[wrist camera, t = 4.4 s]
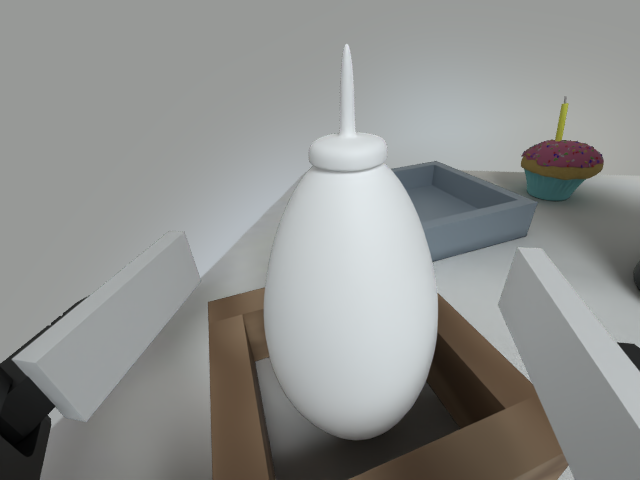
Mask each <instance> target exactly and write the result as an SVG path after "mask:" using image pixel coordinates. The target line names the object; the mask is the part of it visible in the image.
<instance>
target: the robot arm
mask: <svg viewBox="0 0 640 480" xmlns="http://www.w3.org/2000/svg"><path fill="white" fill-rule="evenodd" d="M634 279H635V282H636V285H637V286H638V288H639V290H640V261H639V263H638V264H637V266H636V268H635V270H634ZM200 282H201V279H200V276H199V273H198V270H197V267H196V264H195V261H194V259H193V256H192V253H191V250H190V247H189V244H188V241H187V238H186V235H185V232H179V231H178V232H177V231H168V232H167V233H166V234H165V235H163V236H162V237H161V238H160V239H158V241H156V242H155V243H154V244H152V245H151V246H150V247H149V248H148V249H146V250H145V251H144V252H143V253H141V254H140V255H139V256H138V257H136V258H135V259H134V260H133V261H131V262H130V263H129V264H128V265H127V266H125V267H124V268H123V269H122V270H120V271H119V272H118V273H117V274H116V275H114V276H113V277H112V278H111V279H110V280H108V281H107V282H106V283H104V284H103V285H102V286H101V287H100V288H98V289H97V290H96V291H95V292H94V293H92V294H91V295H89V296H88V297H86V298H84V299H82V300H80V301H79V302H77V303H75V304H74V305H73V306H72V307H71V308H69V309H68V310H67V311H66V312H64V313H63V315H62V316H59V317H58V318H57V319H56V320H54V321H53V322H52V323H51V325H50V326H47V327H46V328H44V329H43V330H42V331H41V332H40V333H38V334H37V335H36V336H34V337H33V338H32V339H31V340H29V341H28V342H27V343H26V344H24V345H23V346H22V347H21V348H20V349H18V350H17V351H16V352H15V353H13V354H12V355H11V356H10V357H8V358H7V359H6V360H5V361H3V362H2V363H0V480H40V475H41V470H42V466H43V461H44V456H45V452H46V447H47V442H48V437H49V433H50V428H51V418H50V417H49V416H48V414H49V413H50V412H51V411H52V410H53V408H54V407H56V408H57V409H58V410H59V411H60V413H62V415H63V416H64V417H65V418H68V419H73V420H79V421H84V422H87V421H88V419H89V418H90V417H91V416H92V415H93V413H94V412H95V411H96V410H97V408H98V407H99V406H100V405H101V404H102V402H103V401H104V400H105V399H106V397H107V396H108V395H109V394H110V392H111V391H112V390H113V389H114V388H115V386H116V385H117V384H118V383H119V381H120V380H121V379H122V378H123V377H124V375H125V374H126V373H127V372H128V370H129V369H130V368H131V367H132V365H133V364H134V363H135V362H136V361H137V359H138V358H139V357H140V356H141V354H142V353H143V352H144V351H145V350H146V348H147V347H148V346H149V345H150V343H151V342H152V341H153V340H154V338H155V337H156V336H157V335H158V334H159V332H160V331H161V330H162V329H163V327H164V326H165V325H166V324H167V323H168V321H169V320H170V319H171V318H172V316H173V315H174V314H175V313H176V311H177V310H178V309H179V308H180V307H181V305H182V304H183V303H184V302H185V300H186V299H187V298H188V297H189V296H190V294H191V293H192V292H193V291H194V289H195V288H196V287H197V286H198V284H199V283H200ZM498 306H499V309H500V311H501V313H502V315H503V318H504V320H505V322H506V324H507V327H508V329H509V331H510V333H511V336H512V338H513V340H514V343H515V345H516V347H517V349H518V352H519V354H520V356H521V358H522V361H523V363H524V365H525V367H526V370H527V372H528V374H529V377H530V379H531V381H532V383H533V386H534V388H535V390H536V392H537V395H538V397H539V399H540V401H541V404H542V406H543V408H544V411H545V413H546V415H547V417H548V420H549V422H550V424H551V426H552V429H553V431H554V433H555V435H556V438H557V440H558V442H559V445H560V447H561V449H562V451H563V454H564V456H565V458H566V460H567V463H568V465H569V467H570V470H571V472H572V474H573V476H574V479H575V480H640V348H639V347H637V346H636V345H635V344H629V343H618V342H616V341H615V340H614V339H613V337H612V336H611V335H610V334H609V332H608V331H607V330H606V329H605V327H604V326H603V325H602V324H601V322H600V321H599V320H598V319H597V317H596V316H595V315H594V313H593V312H592V311H591V310H590V308H589V307H588V306H587V305H586V303H585V302H584V301H583V300H582V298H581V297H580V296H579V295H578V293H577V292H576V291H575V290H574V288H573V287H572V286H571V285H570V283H569V282H568V281H567V279H566V278H565V277H564V276H563V274H562V273H561V272H560V271H559V269H558V268H557V267H556V266H555V264H554V263H553V262H552V261H551V259H550V258H549V257H548V256H547V254H546V253H545V252H544V251H543V249H542V248H526V247H517V250H516V253H515V256H514V259H513V262H512V265H511V268H510V270H509V273H508V276H507V279H506V282H505V285H504V288H503V291H502V294H501V297H500V300H499V303H498Z"/></svg>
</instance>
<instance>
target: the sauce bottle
mask: <svg viewBox="0 0 640 480" xmlns="http://www.w3.org/2000/svg"><path fill="white" fill-rule="evenodd" d="M386 158H387V144H386V142H385V141H384V140H383V139H382V138H381V137H379V136H377V135H374V134H370V133H361V132H356V131H355V105H354V81H353V67H352V58H351V52H350V48H349V46H348V44H346V45H345V46H344V50H343V55H342V65H341V81H340V132H339V133H334V134H329V135H326V136H323V137H321V138H318V139H317V140H315V141H314V142H313V143H312V144H311V146H310V148H309V162H310V163H311V164H312V165H313V166H312V167H311V168H310V169H309V170H308V171H307V172H306V174H305V175H304V176H303V178H302V179H301V181H300V182H299V184H298V185H297V187H296V189H295V191H294V192H293V194H292V196H291V198H290V200H289V202H288V204H287V206H286V208H285V211H284V213H283V216H282V218H281V221H280V223H279V226H278V229H277V233H276V236H275V239H274V243H273V247H272V250H271V255H270V260H269V265H268V271H267V278H266V285H265V293H264V329H265V336H266V341H267V346H268V351H269V356H270V360H271V364H272V367H273V370H274V373H275V375H276V377H277V379H278V381H279V383H280V385H281V387H282V389H283V391H284V393H285V395H286V396H287V398H288V399H289V400H290V402H291V403H292V404H293V405H294V406H295V408H296V409H297V410H298V411H299V413H300V414H301V415H303V416H304V417H305V418H306V419H307V420H309V421H310V422H311V423H312V424H313V425H315V426H316V427H318V428H320V429H321V430H323V431H325V432H327V433H328V434H331V435H334V436H336V437H339V438H342V439H349V440H365V439H371V438H373V437H376V436H378V435H381V434H383V433H385V432H386V431H388V430H389V429H391V428H392V427H393V426H395V425H396V424H397V423H399V422H400V420H401V419H402V418H403V417H404V416H405V415H406V413H407V412H408V411H409V410H410V409H411V408H412V406H413V405H414V403H415V401H416V400H417V398H418V396H419V394H420V392H421V390H422V388H423V386H424V384H425V382H426V379H427V377H428V373H429V370H430V366H431V363H432V359H433V356H434V351H435V346H436V339H437V326H438V295H437V284H436V278H435V272H434V267H433V263H432V258H431V254H430V251H429V247H428V244H427V240H426V237H425V233H424V230H423V227H422V225H421V222H420V219H419V216H418V214H417V212H416V210H415V207H414V205H413V203H412V201H411V199H410V197H409V195H408V193H407V191H406V190H405V188H404V186H403V185H402V183H401V182H400V180H399V179H398V178H397V176H396V175H395V174H394V172H393V171H392V170H391V169H390V168H389V167H388V166H387V165H386V164H385V163H384V161H385V160H386Z"/></svg>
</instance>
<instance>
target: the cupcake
mask: <svg viewBox="0 0 640 480" xmlns="http://www.w3.org/2000/svg"><path fill="white" fill-rule="evenodd" d="M566 99H567V98H566V96H565V99H564V104H562V106H561V112H560V117H559V123H558V128H557V133H556V139H555V140H550V141H549V140H548V141H544V142H541V143H539V144H537V145H534V146H533V147H530V148H529V149H528V150H526V151H524V153H523V155H522V156H523V158H522V161H521V167H522V168H524V170H525V174H526V180H527V192H528V193H529V194H530V195H532V196H534V197H536V198H540V199H544V200H551V201H560V200H566V199H568V198H569V197H570V196H571V194H572V193H573V192H574V191H575V190H576V188H577V187H578V186H579V185H580V184H581V183H582V182H583V181H584V180H586V179H588V178H591V177H593V176H595V175H597V174H598V173H599V172H601V170H602V168H603V162H604V161H603V157H602V154H600V152H598V151H596V150H595V149H594V147H592V146H589V145H587V144H585V143H579V142H578V141H571V140H570V141H567V140H562V136H563V130H564V125H565V120H566V114H567V108H568V103H566Z"/></svg>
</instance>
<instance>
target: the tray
mask: <svg viewBox="0 0 640 480" xmlns="http://www.w3.org/2000/svg"><path fill="white" fill-rule="evenodd" d="M391 170H392V171H393V172H394V174H395V175H396V176H397V178H398V179H399V180H400V182H401V183H402V185H403V186H404V188H405V190H406V191H407V193H408V195H409V197H410V199H411V201H412V203H413V205H414V207H415V210H416V212H417V214H418V216H419V219H420V222H421V225H422V227H423V230H424V233H425V237H426V240H427V244H428V247H429V251H430V254H431V258H432V262H434V261H437V260H441V259H445V258H448V257H452V256H456V255H459V254H463V253H466V252H470V251H474V250H477V249H481V248H485V247H488V246H492V245H496V244H499V243H503V242H507V241H510V240H514V239H518V238H521V237H525V236H526V235H527V232H528V229H529V226H530V223H531V220H532V217H533V215H534V212H535V209H536V206H537V203H538V202H536V201H534V200H531V199H529V198H526V197H524V196H522V195H519V194H517V193H514V192H512V191H509V190H507V189H504V188H502V187H499V186H497V185H494V184H492V183H489V182H487V181H484V180H482V179H479V178H477V177H474V176H472V175H470V174H467V173H465V172H462V171H460V170H457V169H454V168H452V167H450V166H447V165H445V164H442V163H440V162H437V161H434V162H428V163H422V164H417V165H411V166H406V167H400V168H394V169H391Z"/></svg>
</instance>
